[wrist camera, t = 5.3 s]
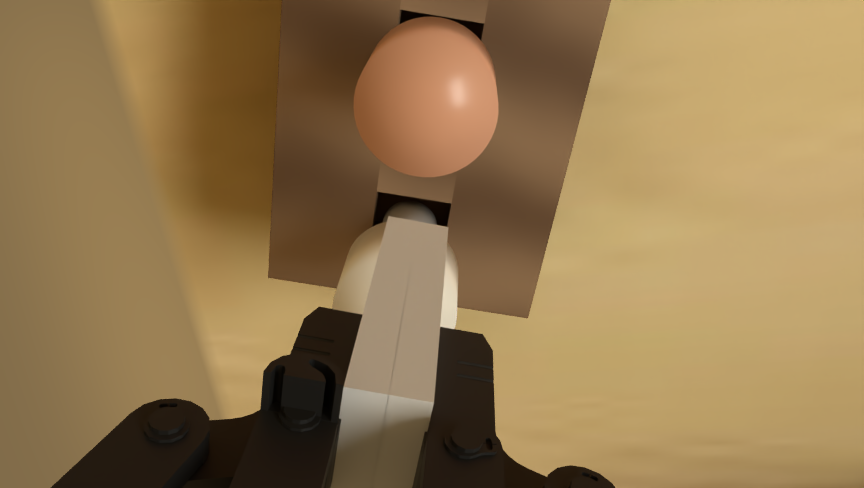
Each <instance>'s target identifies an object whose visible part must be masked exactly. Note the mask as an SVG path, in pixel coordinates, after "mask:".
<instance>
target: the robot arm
mask: <svg viewBox="0 0 864 488" xmlns="http://www.w3.org/2000/svg"><path fill="white" fill-rule="evenodd" d="M447 239H448V227H445V226H440V225H434V224H429V223H423V222H418V221H412V220H407V219H401V218H396V217H390V216H388V220H387V224H386V227H385V231H384V235H383V239H382V243H381V246H380V250H379V254H378V258H377V262H376V265H375V269H374V273H373V277H372V281H371V284H370V288H369V292H368V296H367V300H366V304H365V307H364V311H363V314H357V313H351V312H346V311H340V310H335V309H329V308H323V307H318V308H317V309H316V310H314V311H313V312H312V313H311V314H309V315H308V316H307V317H306V318H304V321H303V323H302V326H301V328H300V331H299V333H298V337H297V338H296V341H295V343H294V346H293V350H292V351H291V354H290V355H286V356H282V357H280V358H278V359H276V360H274V361H272V362H271V363H270V364H269V365H268V366H267V368H266V369H265V370H264V373H263V386H262V398H261V410H259V411H257V412H255V413H253V414H250V415H247V416H244V417H241V418H234V419H224V420H209V417H208V415H207V414H206V412H205V411H204V410H203V408H201V407H200V406H198V405H196V404H194V403H192V402H191V401H186V400H181V399H160V400H156V401H153V402H150V403H147V404H144V405H142V406H141V407H139V408H138V409H136V410H135V411H133V412H132V413H130V414H129V415H128V416H127V417H126V418H125V419H124V420H123V421H122V422H121V423H120V424H119V425H118V426H116V427H115V428H114V429H113V430H112V431H111V432H110V433H109V434H108V435H107V436H106V437H105V438H104V439H103V440H101V441H100V442H99V443H98V444H97V445H96V446H95V447H94V448H93V449H92V450H91V451H90V452H89V453H87V454H86V455H85V456H84V457H83V458H82V459H81V460H80V461H79V462H78V463H77V464H76V465H75V466H74V467H72V469H70V470H69V471H68V472H67V473H66V474H65V475H64V476H63V477H62V478H61V479H60V480H59V481H58V482H56V483H55V484H54V485H53V486H52V487H51V488H615V486H614V485H613V484H612V483H611V482H610V481H608V480H607V479H606V478H604V477H603V476H602V475H600V474H599V473H596V472H594V471H592V470H589V469H587V468H584V467H577V466H565V467H559V468H557V469H555V470H554V471H552V472H551V473H550V474H548V477H546V476H543V475H541V474H539V473H536V472H534V471H532V470H530V469H528V468H526V467H524V466H522V465H520V464H518V463H517V462H515V461H514V460H513V459H512V458H510V457H509V456H508V455H507V454H506V453H505V451H504V450H503V449H502V445H501V442H500V440H499V439H498V437H497V436H496V432H495V408H494V383H493V380H494V377H493V350H492V349H491V347H490V345H489V344H488V342H487V341H486V339H485V337H484V336H483V334H478V333H473V332H467V331H461V330H456V329H450V328H445V327H440V323H441V311H442V299H443V287H444V275H445V263H446V251H447Z"/></svg>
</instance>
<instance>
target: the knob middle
mask: <svg viewBox="0 0 864 488" xmlns="http://www.w3.org/2000/svg"><path fill="white" fill-rule="evenodd" d="M353 108H354V117H355V121H356V126H357V128H358V131H359V134H360V136H361V137H362V139H363V141H364V143H365V144H366V146H367V147H368V149H369V150H370V151H371V152H372V153H373V154H374V155H375V156H376V157H377V158H378V159H379V160H380V161H381V162H383V163H384V164H386V165H387V166H389V167H390V168H392V169H394V170H396V171H399V172H401V173H404V174H407V175H412V176H417V177H437V176H443V175H447V174H451V173H453V172H456V171H458V170H460V169H462V168H464V167H466V166H467V165H469V164H470V163H471V162H473V161H474V160H475V159H476V158H477V157H478V156H479V155H480V154H481V153H482V152H483V151H484V149H485V148H486V147H487V145H488V143H489V142H490V140H491V138H492V136H493V133H494V131H495V128H496V124H497V120H498V95H497V86H496V77H495V70H494V66H493V62H492V59H491V57H490V54H489V52H488V50H487V49H486V47H485V45H484V44H483V43H482V42H481V40H480V39H479V38H478V37H477V36H476V35H475V34H474V33H473V32H472V31H470V30H469V29H468V28H466V27H465V26H463V25H461V24H459V23H457V22H455V21H452V20H449V19H445V18H441V17H420V18H415V19H411V20H408V21H406V22H403V23H401V24H399V25H398V26H396V27H395V28H393V29H391V30H390V31H389V32H388V33H387V34H386V35H385V36H384V37H383V38H382V39H381V40H380V41H379V43H378V44H377V46H376V47H375V49H374V51H373V53H372V54H371V56H370V58H369V60H368V62H367V64H366V65H365V67H364V69H363V71H362V73H361V75H360V77H359V79H358V82H357V85H356V88H355V94H354V106H353Z"/></svg>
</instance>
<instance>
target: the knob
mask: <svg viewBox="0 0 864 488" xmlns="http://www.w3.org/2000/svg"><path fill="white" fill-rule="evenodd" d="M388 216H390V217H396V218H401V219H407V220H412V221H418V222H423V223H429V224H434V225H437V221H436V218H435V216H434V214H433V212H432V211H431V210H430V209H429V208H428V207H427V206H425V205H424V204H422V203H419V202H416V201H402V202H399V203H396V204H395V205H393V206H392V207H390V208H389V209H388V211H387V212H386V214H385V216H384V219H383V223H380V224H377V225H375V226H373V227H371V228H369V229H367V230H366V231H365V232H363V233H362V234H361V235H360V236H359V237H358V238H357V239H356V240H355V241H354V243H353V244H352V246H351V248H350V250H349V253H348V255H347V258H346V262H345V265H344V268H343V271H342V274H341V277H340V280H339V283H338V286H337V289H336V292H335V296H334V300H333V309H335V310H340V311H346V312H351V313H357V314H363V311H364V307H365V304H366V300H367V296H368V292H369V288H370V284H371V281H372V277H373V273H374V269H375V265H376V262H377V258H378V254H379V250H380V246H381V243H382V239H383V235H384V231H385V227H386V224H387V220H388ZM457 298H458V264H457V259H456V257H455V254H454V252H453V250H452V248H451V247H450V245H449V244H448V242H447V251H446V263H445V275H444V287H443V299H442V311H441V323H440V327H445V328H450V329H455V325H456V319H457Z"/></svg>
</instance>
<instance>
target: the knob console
mask: <svg viewBox="0 0 864 488" xmlns="http://www.w3.org/2000/svg"><path fill="white" fill-rule="evenodd" d="M610 2H611V0H282V11H281V31H280V51H279V71H278V91H277V111H276V131H275V151H274V171H273V191H272V211H271V231H270V251H269V271H268V278H274V279H280V280H287V281H293V282H299V283H306V284H312V285H319V286H325V287H331V288H337V286H338V283H339V280H340V277H341V274H342V271H343V268H344V265H345V262H346V258H347V255H348V253H349V250H350V248H351V246H352V244H353V243H354V241H355V240H356V239H357V238H358V237H359V236H360V235H361V234H362V233H363V232H365V231H366V230H367V229H369V228H371V227H373V226H375V225H377V224H380V223H383V219H384V216H385V214H386V212H387V211H388V209H389V208H390V207H392V206H393V205H395V204H396V203H399V202H402V201H416V202H419V203H422V204H424V205H425V206H427V207H428V208H429V209H430V210H431V211H432V212H433V214H434V216H435V218H436V221H437V225H440V226H445V227H448V239H447V242H448V244H449V245H450V247H451V248H452V250H453V252H454V254H455V257H456V259H457V264H458V298H457V307H459V308H465V309H472V310H478V311H485V312H491V313H497V314H504V315H510V316H517V317H523V318H528V316H529V312H530V308H531V304H532V300H533V296H534V293H535V289H536V285H537V281H538V277H539V274H540V270H541V266H542V262H543V258H544V254H545V251H546V247H547V243H548V239H549V235H550V231H551V228H552V224H553V220H554V216H555V212H556V208H557V205H558V201H559V197H560V193H561V189H562V186H563V182H564V178H565V174H566V170H567V166H568V163H569V159H570V155H571V151H572V147H573V143H574V140H575V136H576V132H577V128H578V124H579V120H580V117H581V113H582V109H583V105H584V101H585V98H586V94H587V90H588V86H589V82H590V78H591V75H592V71H593V67H594V63H595V59H596V55H597V52H598V48H599V44H600V40H601V36H602V32H603V29H604V25H605V21H606V17H607V13H608V10H609V6H610ZM420 17H441V18H445V19H449V20H452V21H455V22H457V23H459V24H461V25H463V26H465V27H466V28H468V29H469V30H470V31H472V32H473V33H474V34H475V35H476V36H477V37H478V38H479V39H480V40H481V42H482V43H483V44H484V45H485V47H486V49H487V50H488V52H489V54H490V57H491V59H492V62H493V66H494V70H495V77H496V86H497V95H498V120H497V124H496V128H495V131H494V133H493V136H492V138H491V140H490V142H489V143H488V145H487V147H486V148H485V149H484V151H483V152H482V153H481V154H480V155H479V156H478V157H477V158H476V159H475V160H474V161H473V162H471V163H470V164H469V165H467V166H466V167H464V168H462V169H460V170H458V171H456V172H453V173H451V174H447V175H443V176H437V177H417V176H412V175H407V174H404V173H401V172H399V171H396V170H394V169H392V168H390V167H389V166H387V165H386V164H384V163H383V162H381V161H380V160H379V159H378V158H377V157H376V156H375V155H374V154H373V153H372V152H371V151H370V150H369V149H368V147H367V146H366V144H365V143H364V141H363V139H362V137H361V136H360V134H359V131H358V128H357V126H356V121H355V117H354V108H353V106H354V94H355V88H356V85H357V82H358V79H359V77H360V75H361V73H362V71H363V69H364V67H365V65H366V64H367V62H368V60H369V58H370V56H371V54H372V53H373V51H374V49H375V47H376V46H377V44H378V43H379V41H380V40H381V39H382V38H383V37H384V36H385V35H386V34H387V33H388V32H389V31H390V30H391V29H393V28H395V27H396V26H398V25H399V24H401V23H403V22H406V21H408V20H411V19H415V18H420Z"/></svg>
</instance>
